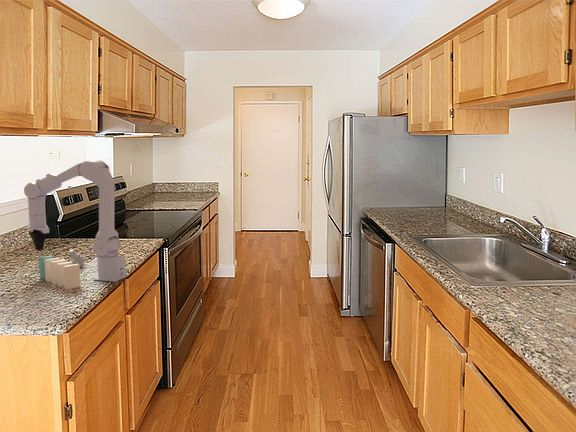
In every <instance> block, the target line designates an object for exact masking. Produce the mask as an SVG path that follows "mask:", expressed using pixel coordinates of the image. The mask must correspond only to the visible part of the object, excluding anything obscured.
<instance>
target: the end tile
mask: <svg viewBox="0 0 576 432" xmlns="http://www.w3.org/2000/svg"><path fill="white" fill-rule="evenodd" d="M52 258H55V257H54V255H47V256H41V257H40V256H39V257H38V271H39V279H40V280H46V276H45V259H52Z"/></svg>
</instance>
